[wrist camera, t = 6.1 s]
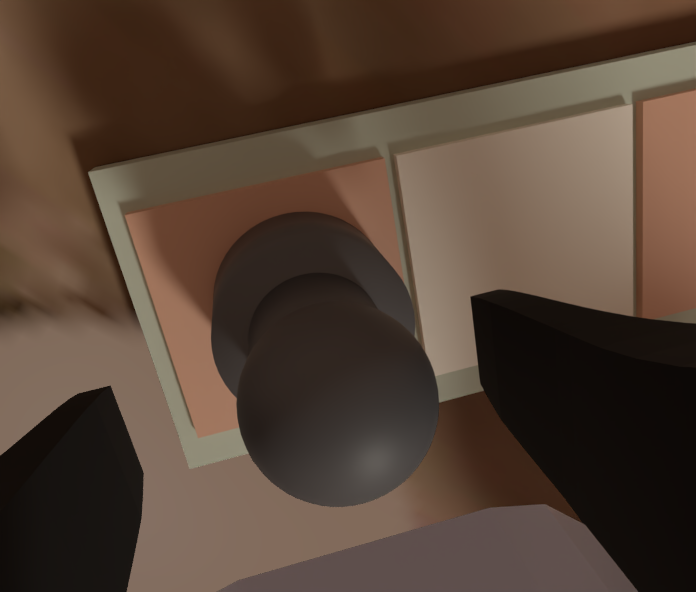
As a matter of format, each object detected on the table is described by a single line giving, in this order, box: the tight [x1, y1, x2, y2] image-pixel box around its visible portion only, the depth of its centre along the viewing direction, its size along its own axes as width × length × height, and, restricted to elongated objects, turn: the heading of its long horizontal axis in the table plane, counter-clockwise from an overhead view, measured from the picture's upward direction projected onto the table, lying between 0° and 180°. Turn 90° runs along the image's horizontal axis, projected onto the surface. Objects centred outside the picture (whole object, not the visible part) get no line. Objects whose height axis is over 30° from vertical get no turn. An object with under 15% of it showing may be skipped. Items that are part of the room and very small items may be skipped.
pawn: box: [211, 212, 439, 507], centre depth 13 cm, size 5×5×7 cm
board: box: [88, 42, 696, 469], centre depth 18 cm, size 9×28×1 cm, turn 100°
